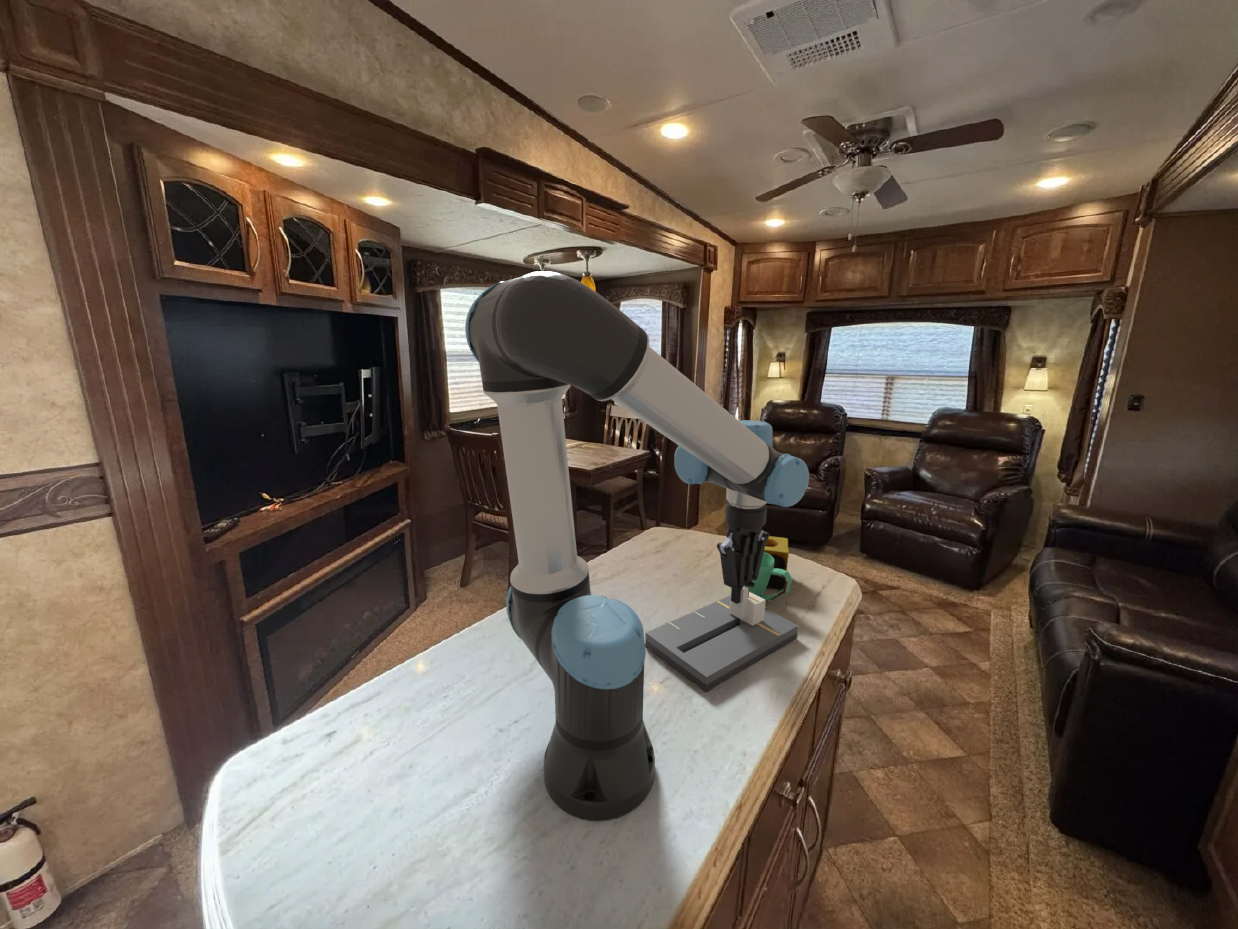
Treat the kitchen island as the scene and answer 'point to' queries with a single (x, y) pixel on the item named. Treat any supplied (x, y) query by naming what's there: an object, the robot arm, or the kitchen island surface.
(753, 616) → the fader tab
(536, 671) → the kitchen island surface
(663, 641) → the console
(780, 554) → the yellow cube with holes
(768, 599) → the mug
